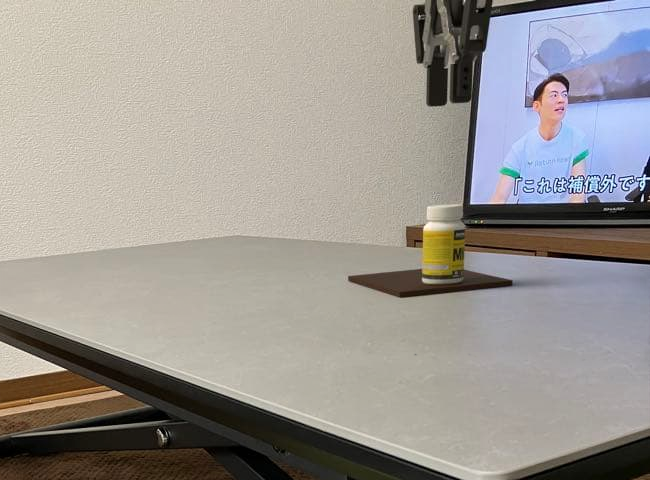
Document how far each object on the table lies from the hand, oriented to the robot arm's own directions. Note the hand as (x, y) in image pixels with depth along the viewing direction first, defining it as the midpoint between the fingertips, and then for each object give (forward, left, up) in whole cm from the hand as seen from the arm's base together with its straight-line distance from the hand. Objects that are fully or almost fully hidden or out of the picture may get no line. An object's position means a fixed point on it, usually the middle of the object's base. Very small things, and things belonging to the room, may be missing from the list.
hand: (448, 103), depth 97 cm
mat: (0, -5, -19) cm, 20 cm away
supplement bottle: (0, 0, -19) cm, 19 cm away
